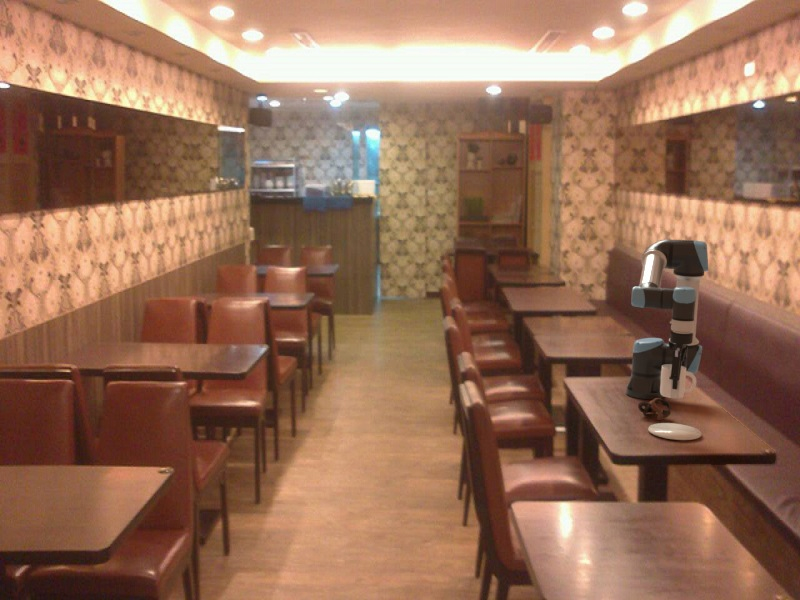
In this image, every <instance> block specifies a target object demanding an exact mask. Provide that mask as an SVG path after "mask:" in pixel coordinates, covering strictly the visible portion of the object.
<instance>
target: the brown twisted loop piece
mask: <svg viewBox="0 0 800 600" xmlns="http://www.w3.org/2000/svg"><path fill="white" fill-rule="evenodd" d="M660 402H661V404H662V406H665V407H667V409H663V410H662V411H661V408H660V407H658V405H657V404H659V403H660ZM637 407H638V411H640V412H641V413H643V416H647V414H654V415H656V414H657V417H656V421H661V420H662V419H666V418H668V417H669V416H670V415H671V413H672V412H671V410H672V405H671V404H670V402H668V401H667V400H665V399H663V398H655V399H651V400H650V401H648V402H647V401H643V400H641V401H640V402H639V403H637ZM643 407H644V408H643Z"/></svg>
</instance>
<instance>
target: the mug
mask: <svg viewBox="0 0 800 600" xmlns="http://www.w3.org/2000/svg"><path fill="white" fill-rule="evenodd" d="M671 369H672V364H666V365H662V370H661V385H660V394H661V395H662V396H664V397H665V398H669V399H671V398H670V396H671V382H672V379H669V377H670V376H671ZM674 376H675V375H674ZM686 376H687V377H689V378H691V380H692V384H691V386H690V387H687V388H686ZM679 380H680V388H679V398H678V399H682V398H683V397H684V396H685V393H691V392H692V391H693V390H694V389H695V388H696V387H697V386H696V385H697V377H696V376H695V374H692V373H691V372H688V371H686V367H684V366H681V371H680V379H679ZM664 397H663V398H664Z"/></svg>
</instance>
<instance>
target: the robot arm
mask: <svg viewBox="0 0 800 600" xmlns="http://www.w3.org/2000/svg"><path fill="white" fill-rule="evenodd" d="M708 256H709V255H708V245H707V243H706V242H705V241H702V240H696V239H670V238H666V239H660V240H657V241H655V242H653V243H652V244H650V245H649V246H648V247H647V248H646V249H645V250H644V252H643V254H642V256H641V266H642V269H641V274H640V280H639V284H638V286H636V285H635V286H633V287H632V289H631V302H630V304H631V306H633V307H634V308H641V309H642V308H643V309H645V308H646V309H659V310H670V311H671V320H670V321H669V324H671V325H670V335H669V338H668V342H665V341H664V339H662V338H660V337H645V338H639V339H637V340H635V341H634V342H633V349H632V352H631V353H632V362H631V363H632V364H631V374H630V378H629V380H628V383H627V385H626V387H625V394H626V395H627V396H629V397H632V398H635V399H636V398H637V399H642V400H654V399H655V398H660V399H663V398H664V396H662V395H661V394H660V385H661V370H662V365H666V364H672V369H671V376H670V377H669V379H672V382H671V396H670V398H669V399H677V400H678V399H680V398H679V388H680V380H679V379H680V371H681V366H684V367H686V371H688V372H691V373H692V374H693V375H695V374H696V373H697V372H698V371H699V366H700V363H701V358H702V351H703V346H702V345H701V344H700V340H698V338H697V337H696V333H697V321H698V308H699V306H698V305H699V294H700V293H699V292H700V280H701V279H702V278H703V277H704V276H705V272H706V273H707V272H709V257H708ZM664 269H665V270H666V269H668V270H673V275H674V277H676V285H675V287H674V288H668V287H667V288H666V287H661V286H662V278H663V272H664ZM674 375H675V376H674Z"/></svg>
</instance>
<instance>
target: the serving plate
mask: <svg viewBox="0 0 800 600" xmlns="http://www.w3.org/2000/svg"><path fill="white" fill-rule="evenodd" d="M648 432H649V433H650V434H652V435H653V436H656V437H659V438H663V439H669V440H674V441H675V440H676V441H691V440H693V441H694V440H697V439H699V438H701V437H702V431H700V430H699V429H698V428H696V427H693V426H690V425H686V424H683V423H682V424H681V423H674V422H673V423H671V422H660V423H659V422H658V423H654V424H650V425H649V426H648Z"/></svg>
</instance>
